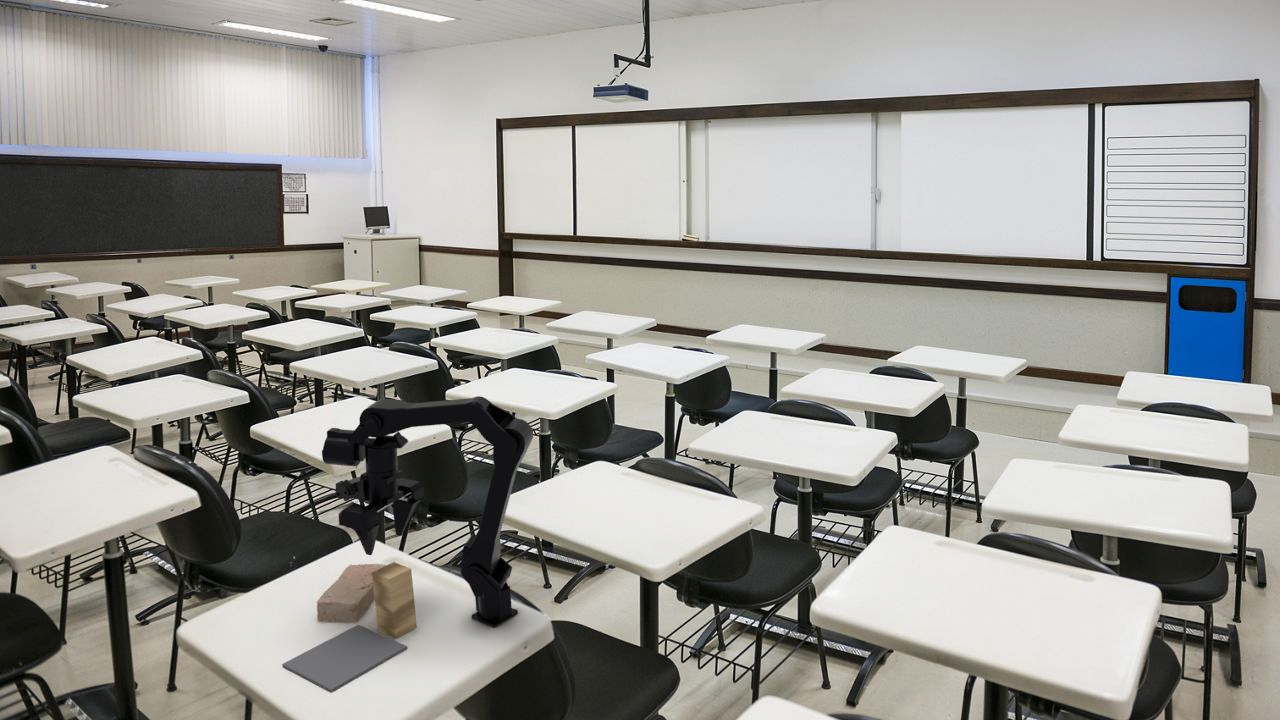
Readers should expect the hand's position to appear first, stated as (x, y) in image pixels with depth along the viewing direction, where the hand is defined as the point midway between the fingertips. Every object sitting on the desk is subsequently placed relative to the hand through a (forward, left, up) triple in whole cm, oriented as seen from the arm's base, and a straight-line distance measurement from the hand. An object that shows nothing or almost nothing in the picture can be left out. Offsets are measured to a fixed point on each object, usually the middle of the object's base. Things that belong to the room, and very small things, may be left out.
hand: (384, 544), depth 173 cm
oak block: (-6, +3, -14) cm, 16 cm away
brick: (+10, +1, -15) cm, 18 cm away
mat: (-6, +15, -14) cm, 21 cm away
